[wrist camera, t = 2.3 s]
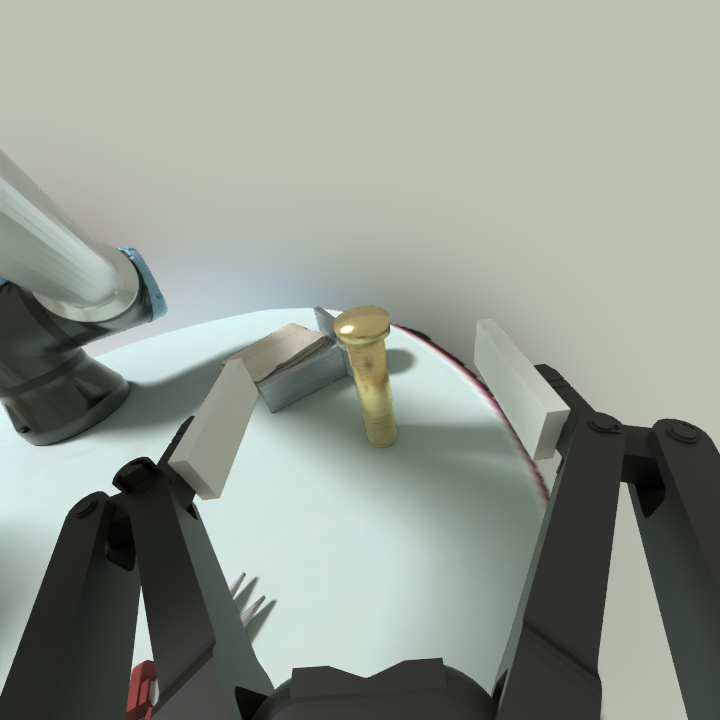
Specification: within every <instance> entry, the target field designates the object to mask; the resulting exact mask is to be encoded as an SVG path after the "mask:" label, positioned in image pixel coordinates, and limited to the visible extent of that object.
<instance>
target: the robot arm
mask: <svg viewBox="0 0 720 720" xmlns="http://www.w3.org/2000/svg"><path fill="white" fill-rule="evenodd" d="M167 310H168V307H167V304H166V302H165V299H164V297H163V295H162V294H161V292H160V289H159V287H158V285H157V283H156V281H155V279H154V277H153V275H152V274H151V272H150V270H149V268H148V267H147V265H146V264H145V261H144V260H143V258H142V257H141V255H140V254H139V253H138V251H137V250H136V249H134V248H132V247H127V248H122V247H120V248H117V249H116V248H113V247H112V246H110V245H108V244H106V243H103V242H100V241H97V240H93V239H92V238H90V237H89V236H88V235H87V234H86V233H85V232H84V231H83V230H82V229H81V228H80V227H79V226H78V225H77V224H76V223H75V222H74V221H73V220H72V219H71V218H70V217H69V216H68V215H67V214H66V213H65V212H64V211H63V210H62V209H61V208H60V207H59V206H58V205H57V204H56V203H55V202H54V201H53V200H52V199H51V198H50V197H49V196H48V195H47V194H46V193H45V192H44V191H43V190H42V189H41V188H40V187H39V186H38V185H37V184H36V183H35V182H34V181H33V180H32V179H30V177H29V176H27V174H25V173H24V172H23V171H22V170H21V169H20V168H19V167H18V166H17V165H16V164H15V163H14V162H13V161H12V160H11V159H10V158H9V157H8V156H7V155H6V154H5V153H4V152H3V151H2V150H1V149H0V402H1V403H2V405H3V407H4V409H5V411H6V413H7V415H8V417H9V419H10V420H11V422H12V424H13V426H14V428H15V430H16V432H17V433H18V434H19V435H20V436H21V437H22V438H24V439H25V440H26V441H28V442H29V443H31V444H33V445H46V444H51V443H55V442H58V441H61V440H64V439H67V438H69V437H72V436H74V435H76V434H78V433H80V432H82V431H84V430H86V429H88V428H90V427H91V426H93V425H95V424H96V423H98V422H100V421H101V420H102V419H104V418H105V417H107V416H108V415H109V414H111V413H112V412H113V411H114V410H115V409H116V408H117V407H119V406H120V405H121V403H122V402H123V401H124V400H125V399H126V397H127V396H128V394H129V391H130V385H129V384H128V383H127V381H126V380H125V379H124V378H123V377H122V376H121V375H120V374H118V373H117V372H115V371H113V370H111V369H110V368H108V367H106V366H104V365H103V364H101V363H99V362H98V361H96V360H94V359H92V358H91V357H89V356H88V355H87V354H86V353H85V352H84V350H83V349H82V348H81V346H83V345H86V344H88V343H91V342H94V341H97V340H99V339H102V338H105V337H108V336H111V335H114V334H116V333H119V332H122V331H125V330H127V329H130V328H133V327H136V326H139V325H142V324H144V323H149V322H153V321H154V320H155V319H157V318H159V317H162V316H164V315H165V314H166V313H167ZM474 363H475V364H476V366H477V368H478V369H479V371H480V373H481V374H482V376H483V378H484V379H485V381H486V383H487V385H488V386H489V388H490V390H491V391H492V393H493V395H494V396H495V398H496V400H497V401H498V403H499V405H500V406H501V408H502V410H503V411H504V413H505V415H506V417H507V418H508V420H509V422H510V423H511V425H512V427H513V428H514V430H515V432H516V433H517V435H518V437H519V438H520V440H521V442H522V443H523V445H524V447H525V449H526V450H527V452H528V454H529V455H530V457H531V459H532V460H540V459H548V458H553V455H554V453H555V450H556V449H557V450H558V452H559V453H560V455H561V456H562V460H561V462H560V465H559V467H558V469H557V472H556V473H557V476H556V479H555V482H554V486H553V489H552V493H551V496H550V500H549V503H548V506H547V510H546V513H545V517H544V520H543V524H542V527H541V530H540V534H539V537H538V541H537V544H536V548H535V551H534V554H533V558H532V561H531V565H530V568H529V572H528V575H527V578H526V582H525V585H524V589H523V592H522V596H521V599H520V603H519V606H518V609H517V613H516V616H515V620H514V623H513V627H512V630H511V633H510V637H509V640H508V643H507V646H506V649H505V652H504V655H503V658H502V661H501V664H500V667H499V670H498V673H497V677H496V680H495V684H494V687H493V690H492V694H491V696H490V695H489V694H488V693H487V692H486V691H485V690H484V689H483V688H482V687H481V686H480V685H479V684H477V683H476V682H475V681H474V680H473V679H471V678H470V677H468V676H467V675H465V674H464V673H462V672H460V671H458V670H456V669H454V668H452V667H449V666H446V665H444V664H443V659H442V658H433V659H419V660H405V661H402V662H400V663H398V664H396V665H394V666H392V667H390V668H388V669H386V670H384V671H381V672H379V673H377V674H375V675H373V676H371V677H368V678H363V677H360V676H357V675H354V674H351V673H348V672H345V671H342V670H339V669H336V668H333V667H330V666H319V667H305V668H293V671H292V678H290V679H289V680H287V681H286V682H284V683H283V684H281V685H280V686H279V687H278V688H276V689H274V687H273V685H272V683H271V681H270V679H269V677H268V675H267V673H266V672H265V671H264V669H263V668H262V666H261V665H260V664H259V662H258V660H257V658H256V656H255V653H254V651H253V648H252V646H251V643H250V641H249V638H248V636H247V633H246V630H245V628H244V625H243V623H242V620H241V618H240V615H239V613H238V610H237V608H236V605H235V603H234V600H233V598H232V595H231V593H230V590H229V588H228V585H227V582H226V580H225V577H224V575H223V572H222V570H221V567H220V565H219V562H218V560H217V557H216V555H215V552H214V550H213V547H212V545H211V542H210V540H209V537H208V534H207V532H206V529H205V527H204V524H203V522H202V519H201V517H200V514H199V512H198V509H197V507H196V505H195V504H194V503H193V498H194V496H195V494H196V493H197V495H198V496H199V497H200V498H201V499H202V500H208V499H216V498H220V495H221V493H222V490H223V488H224V485H225V482H226V480H227V477H228V475H229V472H230V469H231V467H232V464H233V461H234V459H235V456H236V454H237V451H238V448H239V446H240V443H241V441H242V438H243V435H244V433H245V430H246V427H247V425H248V422H249V420H250V417H251V414H252V412H253V409H254V406H255V404H256V401H257V399H258V396H259V392H258V390H257V388H256V386H255V384H254V382H253V380H252V378H251V376H250V375H249V373H248V371H247V369H246V367H245V365H244V363H243V361H242V359H241V358H240V359H233V360H228V362H227V363H226V365H225V367H224V368H223V370H222V372H221V373H220V375H219V377H218V379H217V380H216V382H215V384H214V385H213V387H212V389H211V390H210V392H209V394H208V395H207V397H206V399H205V400H204V402H203V404H202V405H201V407H200V409H199V410H198V412H197V414H196V415H194V416H190V417H189V418H188V419H187V420H186V421H185V422H184V423H183V424H182V425H181V427H180V428H179V430H178V431H177V433H176V436H174V438H173V439H172V443H170V444H169V446H168V447H167V449H166V451H165V452H164V454H163V455H162V457H161V459H160V460H159V462H158V463H157V465H156V464H155V463H154V462H153V461H152V460H151V459H150V458H149V457H140V458H136V459H134V460H132V461H130V462H129V463H127V464H126V465H125V466H123V467H122V468H121V469H120V470H119V471H118V472H117V473H116V475H115V477H114V478H113V482H112V484H113V485H114V486H115V487H116V488H118V489H119V490H120V491H121V493H119V494H116V495H114V496H111V497H110V496H108V495H107V494H106V493H104V492H103V491H97V492H95V493H92V494H89V495H88V496H86V497H84V498H83V499H81V500H80V501H79V502H78V503H77V504H75V505H74V507H73V508H72V509H71V510H70V511H69V513H68V515H67V516H66V518H65V521H64V524H63V527H62V529H61V532H60V535H59V538H58V540H57V543H56V546H55V548H54V551H53V554H52V557H51V559H50V562H49V565H48V568H47V570H46V573H45V576H44V579H43V581H42V584H41V587H40V589H39V592H38V595H37V598H36V600H35V603H34V606H33V609H32V611H31V614H30V617H29V620H28V622H27V625H26V628H25V630H24V633H23V636H22V639H21V641H20V644H19V647H18V650H17V652H16V655H15V658H14V660H13V663H12V666H11V669H10V671H9V674H8V677H7V680H6V682H5V685H4V688H3V691H2V693H1V696H0V720H126V711H127V703H128V694H129V685H130V676H131V667H132V659H133V650H134V641H135V632H136V624H137V615H138V606H139V597H140V589H141V586H142V592H143V598H144V604H145V610H146V616H147V622H148V628H149V635H150V641H151V647H152V653H153V659H154V665H155V671H156V677H157V683H158V690H159V697H158V701H157V702H156V704H155V705H154V707H153V708H152V710H151V715H150V720H600V713H601V701H602V686H601V680H600V677H599V674H598V667H597V666H598V655H599V647H600V639H601V630H602V623H603V615H604V607H605V599H606V591H607V582H608V574H609V566H610V559H611V551H612V542H613V535H614V527H615V519H616V511H617V504H618V496H619V488H620V482H626V483H627V485H628V488H629V493H630V496H631V500H632V504H633V508H634V512H635V515H636V519H637V523H638V527H639V531H640V535H641V539H642V542H643V547H644V551H645V554H646V558H647V562H648V566H649V570H650V574H651V578H652V581H653V585H654V589H655V593H656V597H657V601H658V604H659V609H660V612H661V616H662V620H663V624H664V628H665V632H666V636H667V639H668V643H669V647H670V651H671V655H672V659H673V662H674V667H675V670H676V674H677V678H678V682H679V686H680V690H681V693H682V697H683V701H684V705H685V709H686V713H687V717H688V720H720V454H719V452H718V450H717V448H716V447H715V445H714V443H713V441H712V439H711V438H710V437H709V436H708V435H707V434H706V433H705V432H704V431H703V430H701V429H700V428H698V427H696V426H694V425H692V424H689V423H687V422H684V421H680V420H677V419H662V420H658V421H657V422H656V423H655V424H654V426H653V427H652V428H646V427H637V426H628V425H622V423H621V422H619V421H618V420H617V419H615V418H614V417H612V416H609V415H607V414H605V413H600V412H596V411H594V409H593V408H592V407H591V406H590V405H589V404H588V403H587V402H586V401H585V400H584V399H583V398H582V397H581V396H580V395H579V394H578V393H577V392H576V391H575V390H574V388H573V387H571V386H570V384H569V383H568V382H567V381H566V380H564V378H563V377H562V376H561V375H560V374H559V373H558V372H557V371H556V370H555V369H553V368H551V367H549V366H548V365H546V364H540V365H534V366H533V365H532V364H531V363H530V362H529V360H528V359H527V358H526V357H525V356H524V355H523V354H522V352H521V351H520V350H519V349H518V348H517V347H516V345H515V344H514V343H513V342H512V341H511V340H510V338H509V337H508V336H507V335H506V334H505V333H504V332H503V330H502V329H501V328H500V327H499V326H498V324H497V323H496V322H495V321H494V320H493V319H492V318H490V319H484V320H478V321H477V331H476V343H475V356H474Z"/></svg>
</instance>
